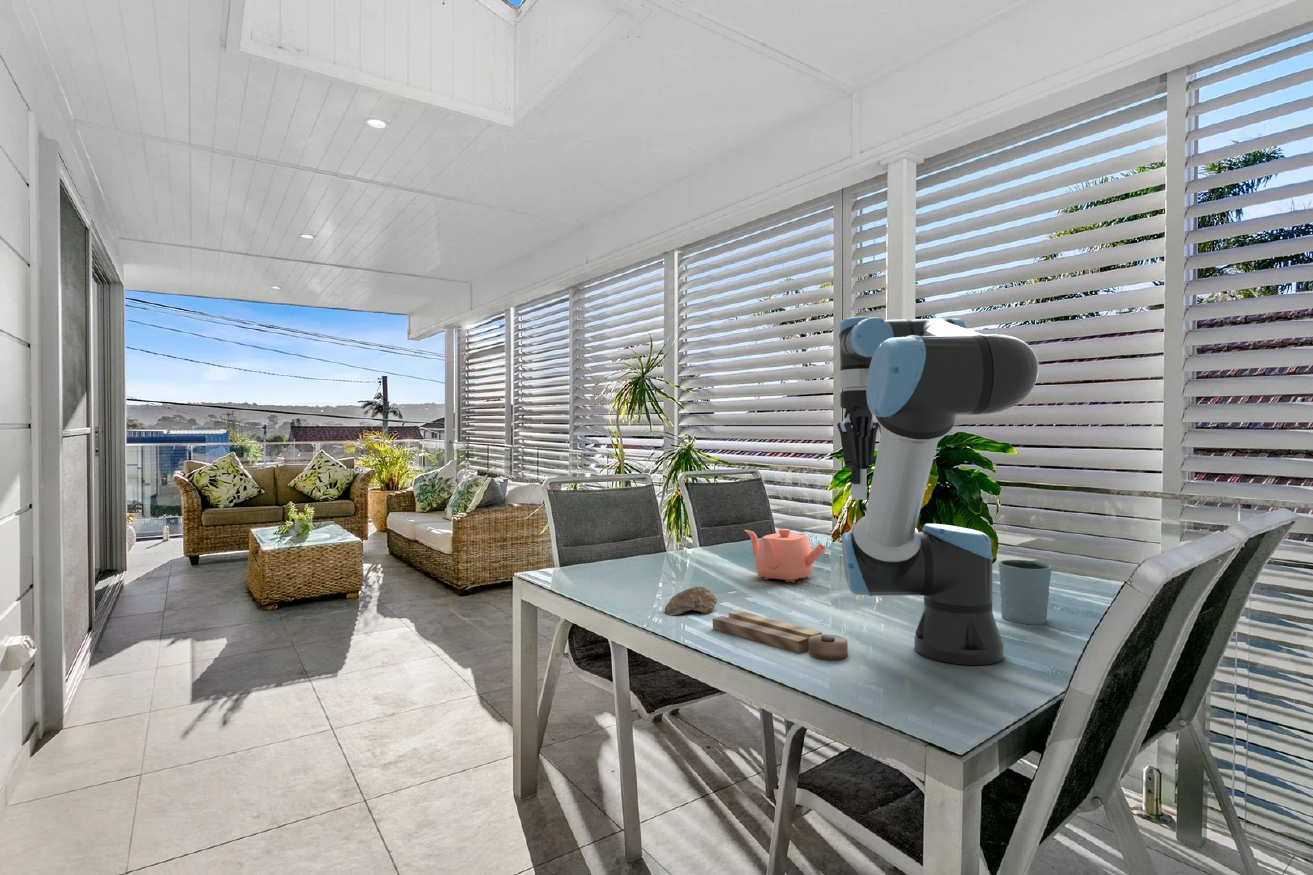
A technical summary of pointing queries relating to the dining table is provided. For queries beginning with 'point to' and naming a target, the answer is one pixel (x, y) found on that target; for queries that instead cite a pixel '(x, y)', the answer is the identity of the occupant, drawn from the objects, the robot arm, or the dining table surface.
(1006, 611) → the pale blue plant pot
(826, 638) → the bar
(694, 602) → the brown rock
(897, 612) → the dining table surface
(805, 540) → the teapot
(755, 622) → the tongs swing jaw
